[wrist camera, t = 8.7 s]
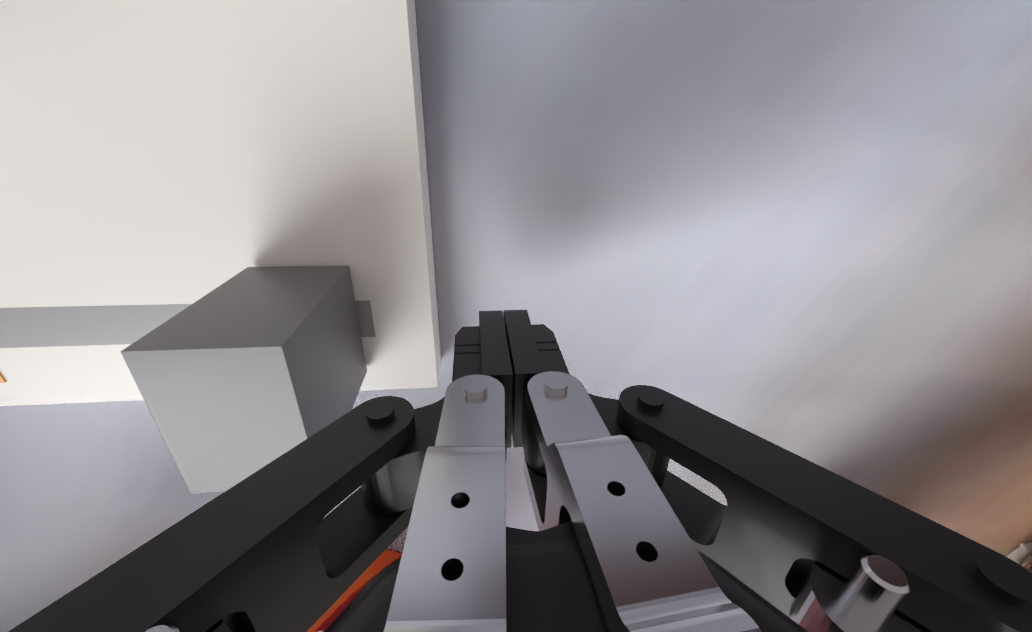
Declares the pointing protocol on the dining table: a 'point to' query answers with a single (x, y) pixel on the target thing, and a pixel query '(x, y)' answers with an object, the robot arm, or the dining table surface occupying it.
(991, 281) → the dining table surface
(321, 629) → the coffee cup
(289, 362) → the block
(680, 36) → the dining table surface
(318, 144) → the panel
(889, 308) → the dining table surface
